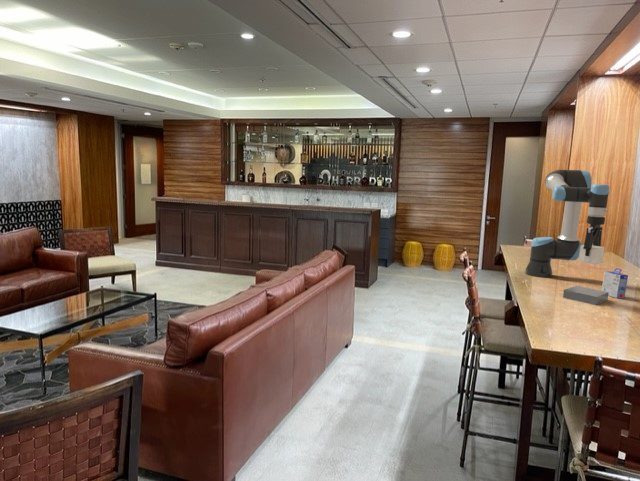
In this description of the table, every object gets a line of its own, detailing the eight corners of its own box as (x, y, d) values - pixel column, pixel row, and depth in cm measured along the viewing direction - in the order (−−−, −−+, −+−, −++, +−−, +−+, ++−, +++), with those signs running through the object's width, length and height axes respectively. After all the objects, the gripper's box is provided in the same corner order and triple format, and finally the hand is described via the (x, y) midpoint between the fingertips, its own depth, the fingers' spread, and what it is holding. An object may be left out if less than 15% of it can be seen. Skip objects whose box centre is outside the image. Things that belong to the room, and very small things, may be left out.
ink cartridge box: (625, 298, 233) (629, 270, 231) (617, 298, 232) (621, 270, 229) (608, 293, 242) (612, 266, 240) (600, 293, 241) (604, 266, 239)
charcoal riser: (575, 293, 239) (576, 285, 239) (607, 299, 228) (608, 292, 228) (562, 297, 229) (563, 289, 229) (595, 304, 218) (596, 296, 217)
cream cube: (584, 260, 231) (586, 244, 230) (602, 262, 225) (604, 247, 224) (578, 261, 226) (580, 245, 225) (596, 264, 220) (598, 248, 219)
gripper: (596, 217, 213) (590, 265, 216) (612, 216, 226) (606, 261, 230) (579, 215, 218) (573, 262, 222) (596, 214, 232) (590, 258, 235)
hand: (590, 261), depth 226 cm, fingers closed on cream cube, 8 cm apart
